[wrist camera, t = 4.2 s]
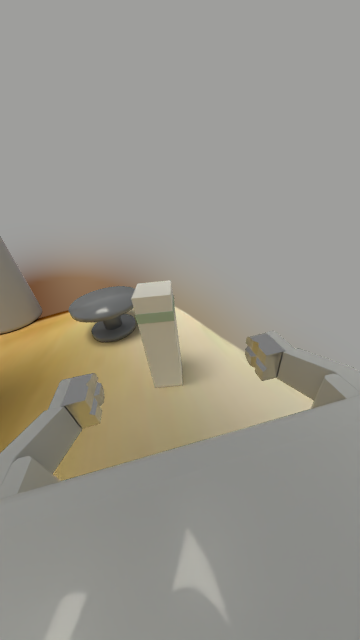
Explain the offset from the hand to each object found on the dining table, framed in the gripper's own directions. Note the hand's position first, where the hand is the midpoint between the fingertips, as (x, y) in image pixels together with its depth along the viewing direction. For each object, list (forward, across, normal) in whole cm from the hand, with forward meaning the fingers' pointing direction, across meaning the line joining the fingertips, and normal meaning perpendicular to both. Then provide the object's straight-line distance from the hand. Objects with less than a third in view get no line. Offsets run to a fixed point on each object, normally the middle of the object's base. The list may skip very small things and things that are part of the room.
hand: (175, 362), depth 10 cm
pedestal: (+28, +10, +14) cm, 33 cm away
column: (+12, +1, +14) cm, 19 cm away
